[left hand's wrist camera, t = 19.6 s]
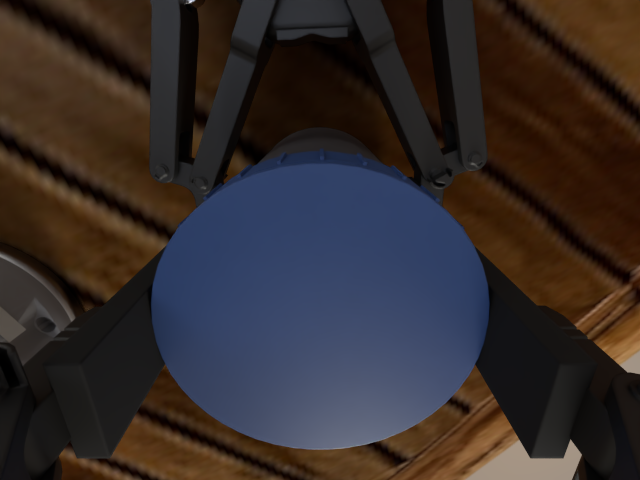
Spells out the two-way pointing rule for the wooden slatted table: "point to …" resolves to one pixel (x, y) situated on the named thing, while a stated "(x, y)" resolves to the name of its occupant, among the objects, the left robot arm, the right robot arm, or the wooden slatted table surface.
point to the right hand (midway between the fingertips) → (323, 292)
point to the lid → (320, 302)
